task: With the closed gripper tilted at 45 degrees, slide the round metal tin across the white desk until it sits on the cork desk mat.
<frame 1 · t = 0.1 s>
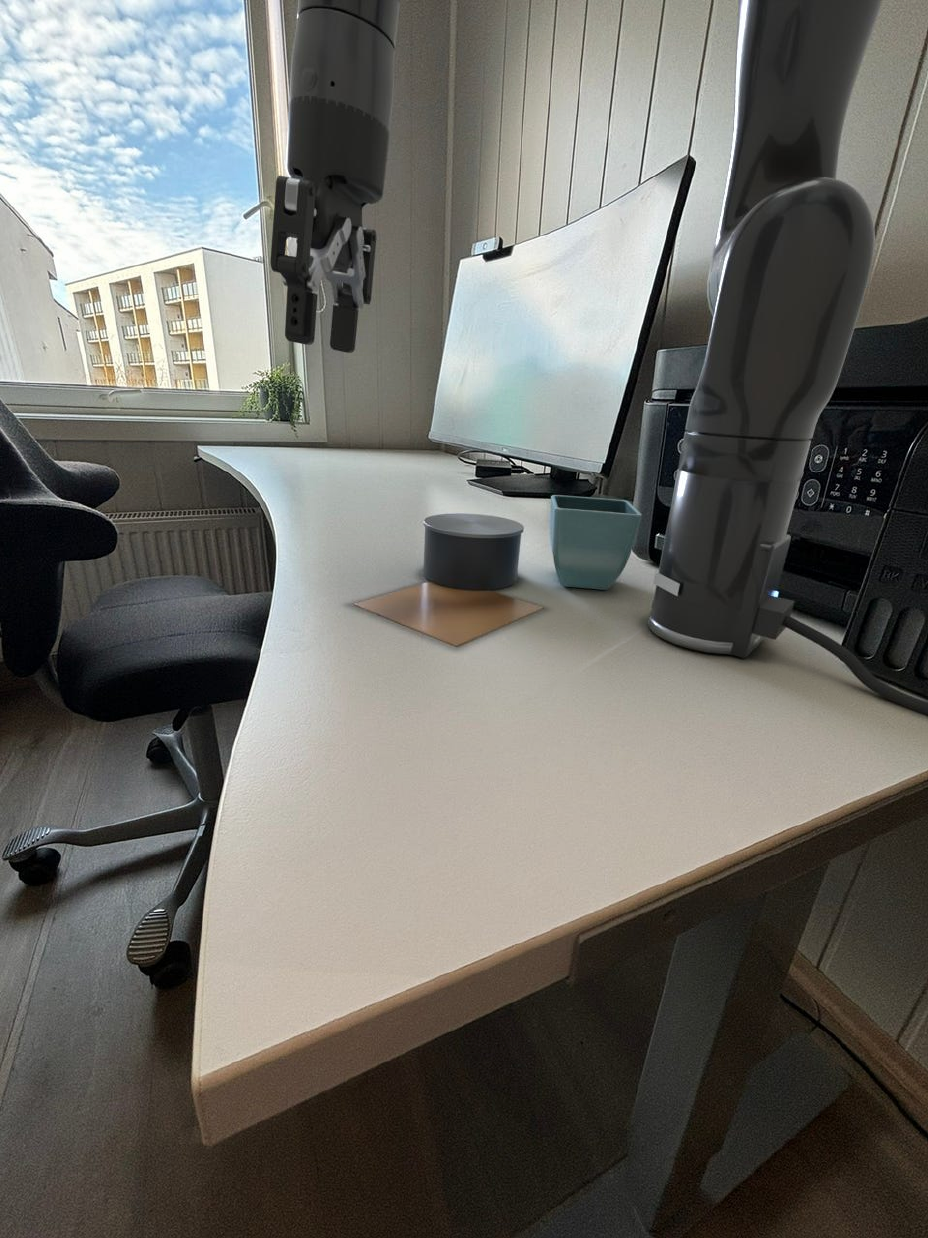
hand: (322, 347, 49), 22 cm above the table, tool pointing down, fingers open, 8 cm apart
flower pot: (582, 584, 64), on the table
round metal tin: (470, 575, 64), on the table, touching desk mat
desk mat: (450, 607, 55), on the table
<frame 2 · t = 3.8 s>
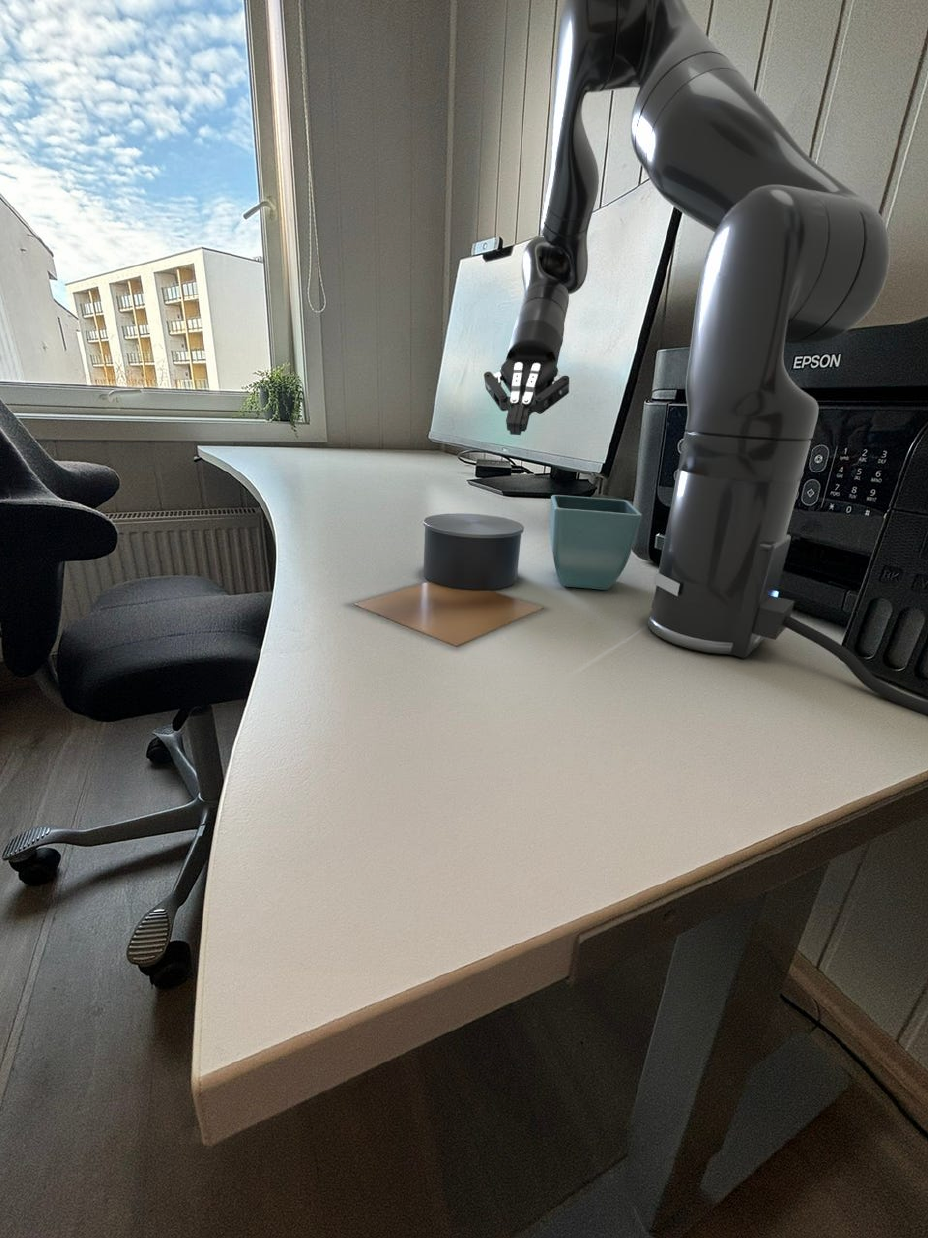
hand: (515, 430, 78), 15 cm above the table, tool tilted 45°, fingers closed
nothing on the table moved.
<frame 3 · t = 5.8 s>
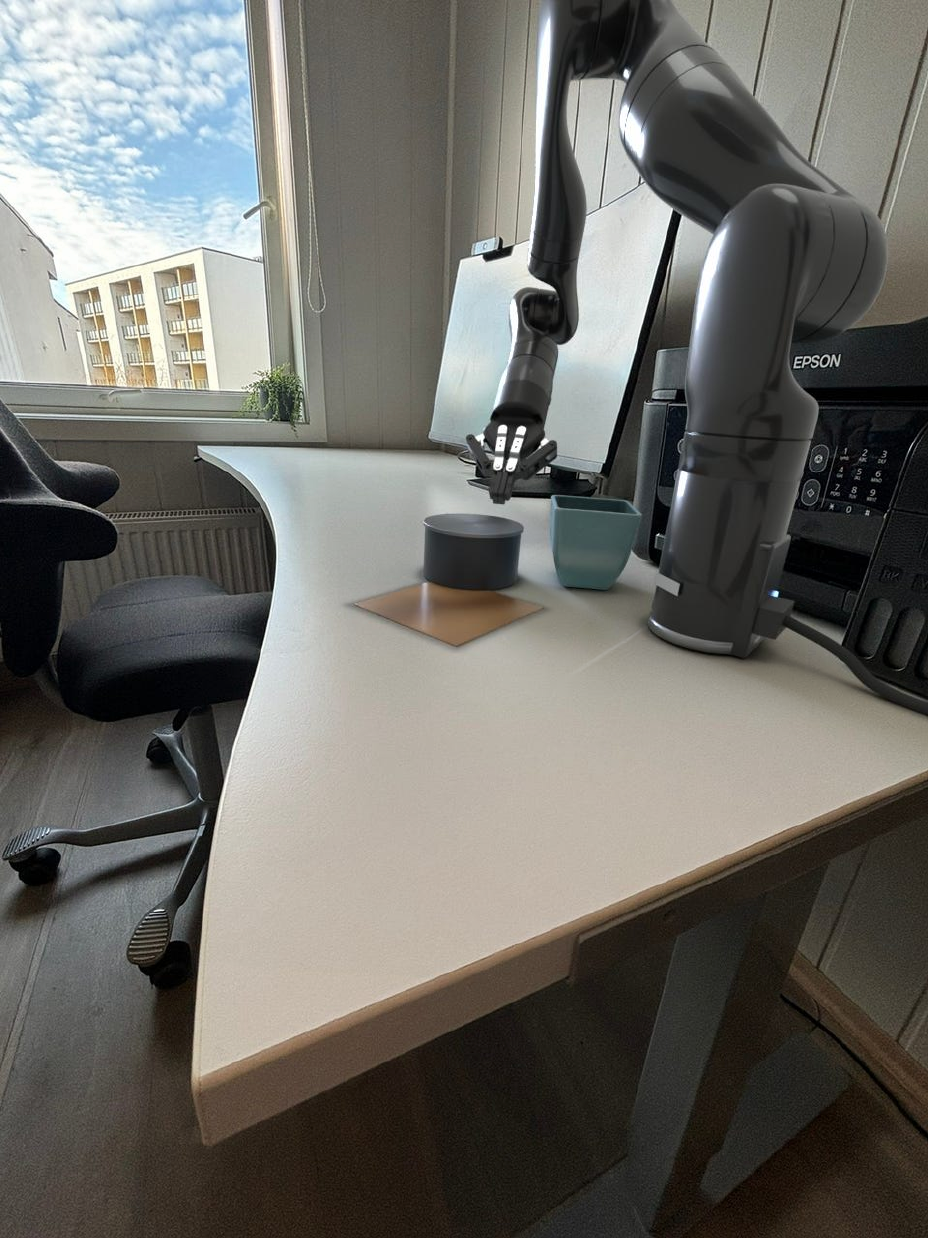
hand: (498, 500, 73), 7 cm above the table, tool tilted 45°, fingers closed
nothing on the table moved.
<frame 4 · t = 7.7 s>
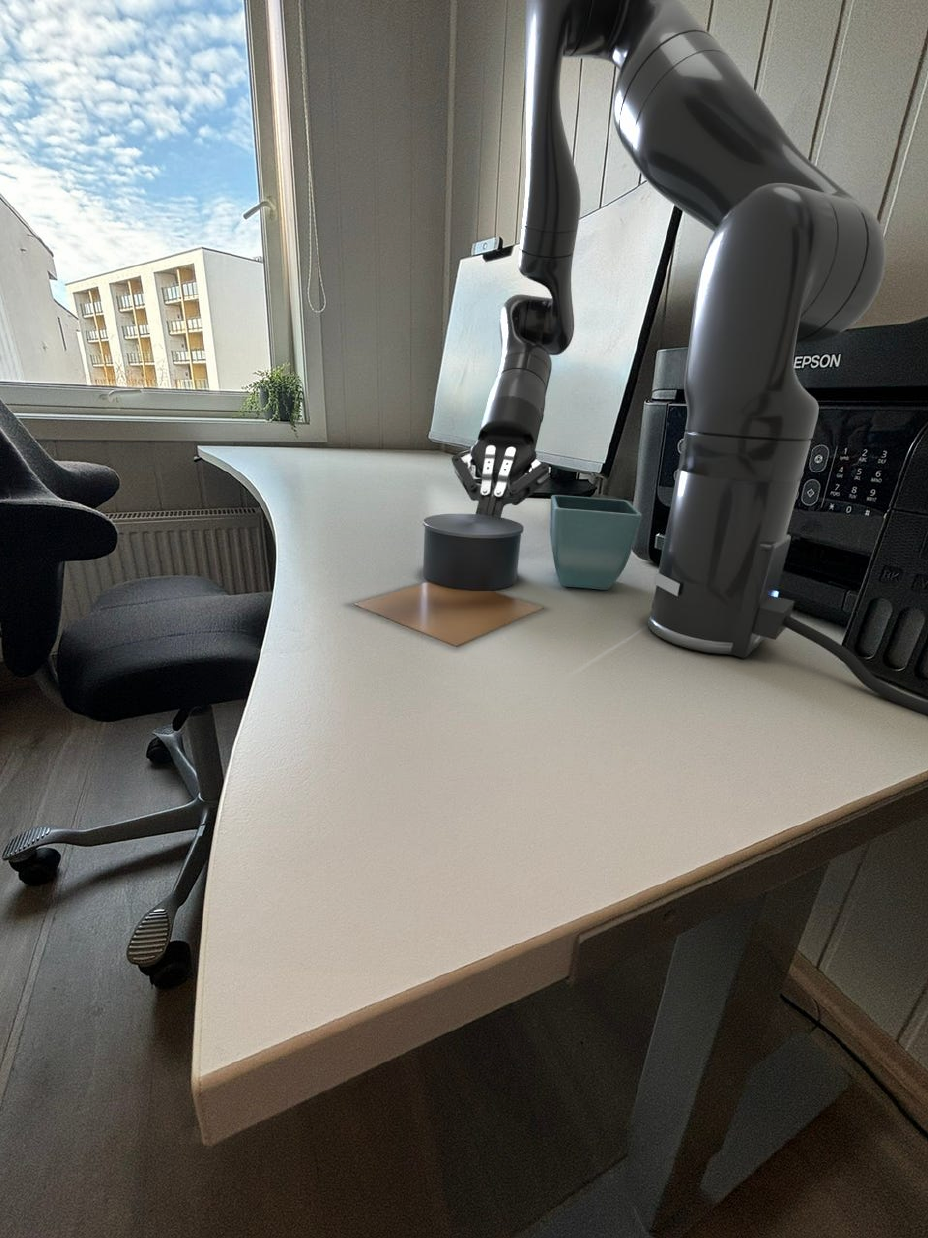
hand: (485, 527, 68), 4 cm above the table, tool tilted 45°, fingers closed
round metal tin: (469, 575, 64), on the table, touching gripper
everything else where it was.
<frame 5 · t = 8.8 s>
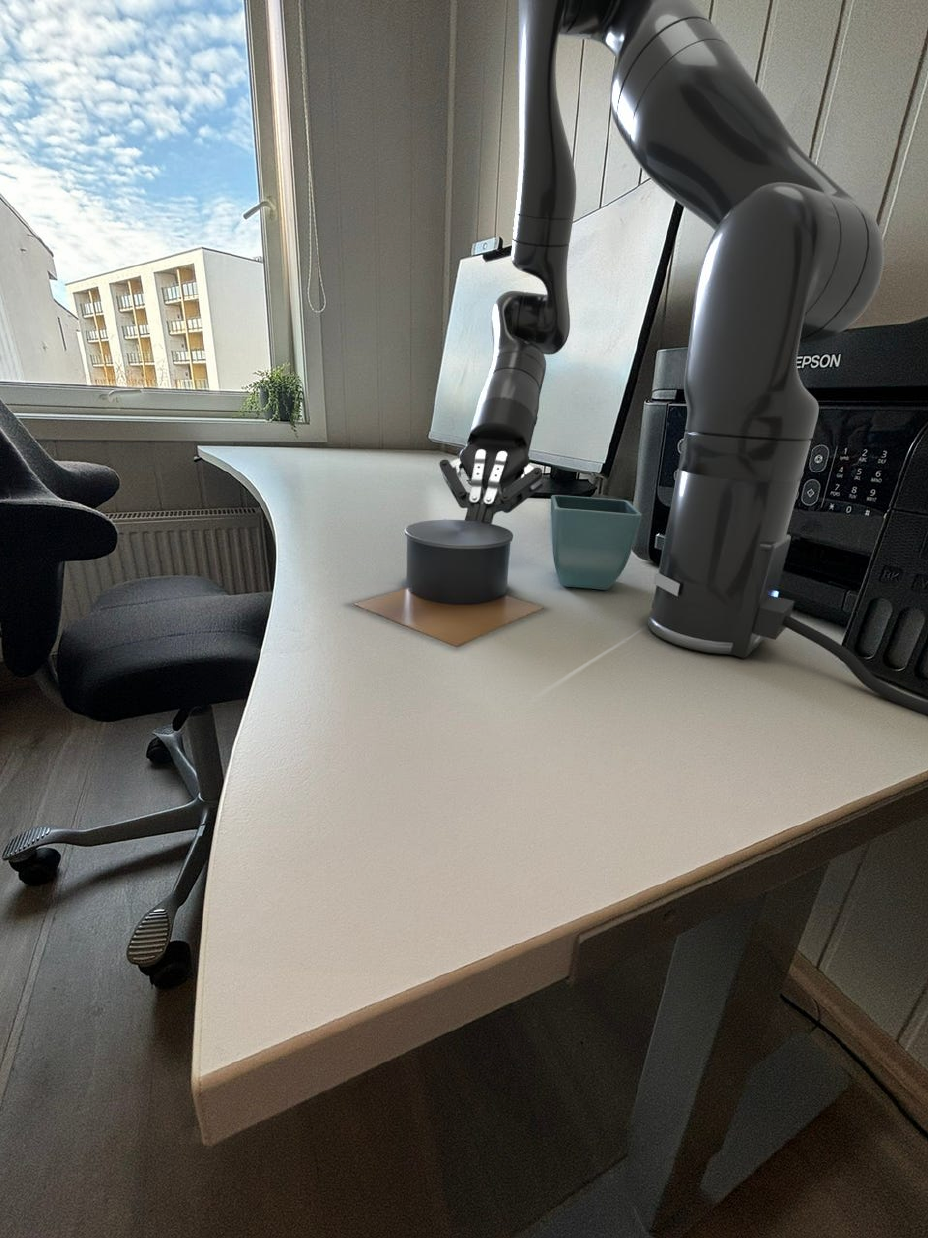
hand: (474, 537, 64), 4 cm above the table, tool tilted 45°, fingers closed
round metal tin: (456, 586, 60), on the table, touching gripper
everything else where it was.
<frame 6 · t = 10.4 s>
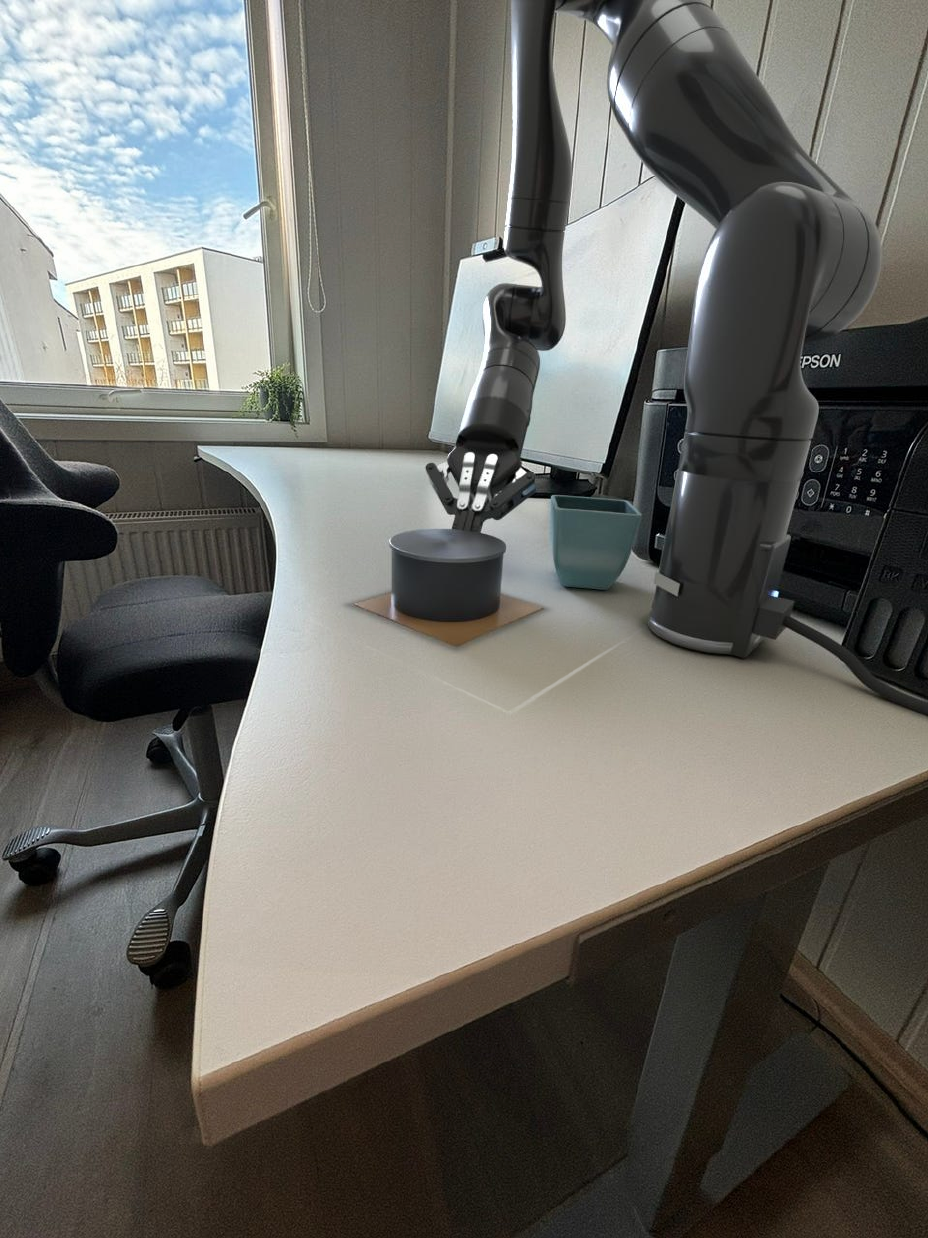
hand: (462, 546, 59), 4 cm above the table, tool tilted 45°, fingers closed
round metal tin: (445, 601, 56), resting on desk mat, touching gripper
everything else where it was.
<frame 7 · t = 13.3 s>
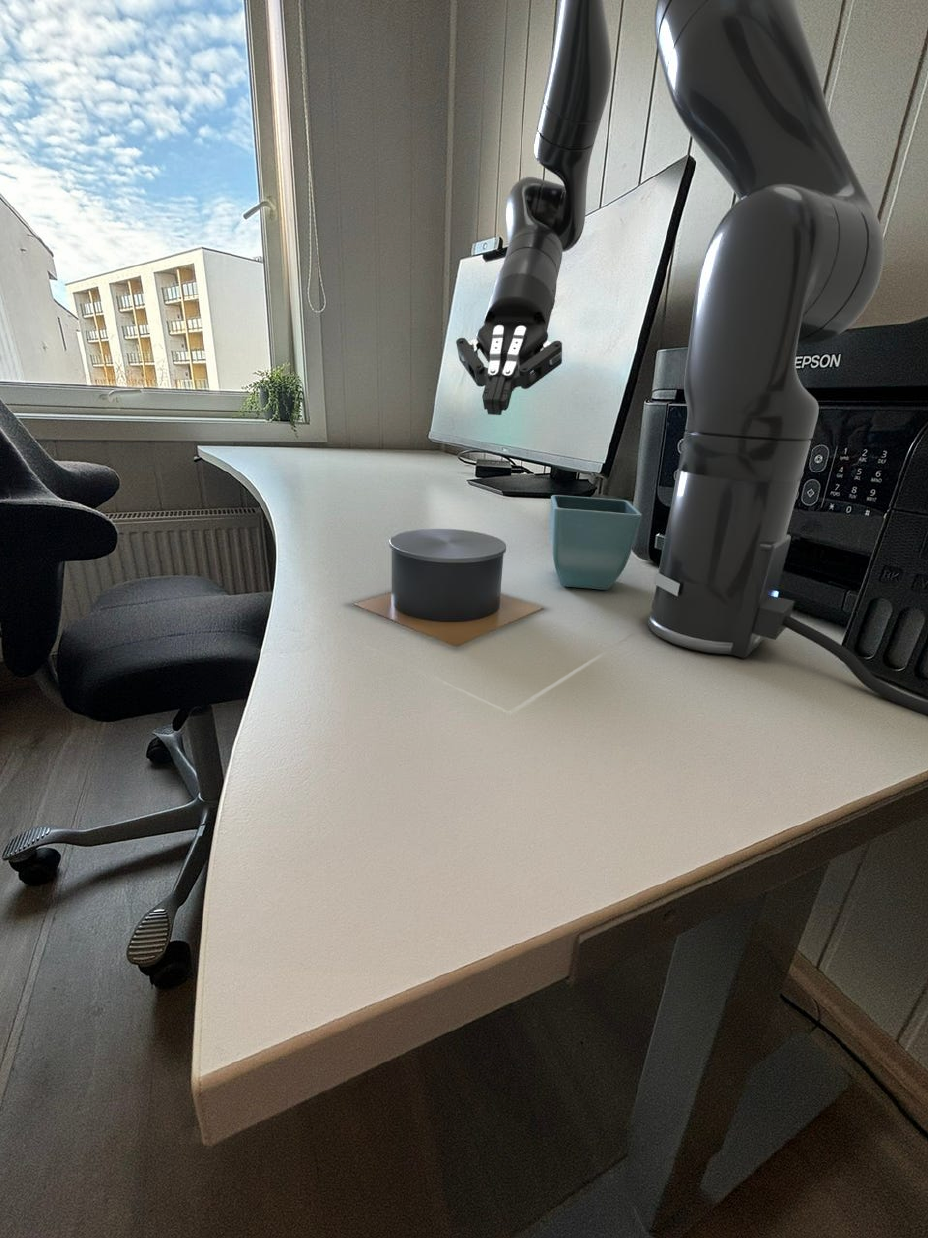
hand: (493, 409, 62), 18 cm above the table, tool tilted 45°, fingers closed
round metal tin: (445, 601, 56), resting on desk mat
everything else where it was.
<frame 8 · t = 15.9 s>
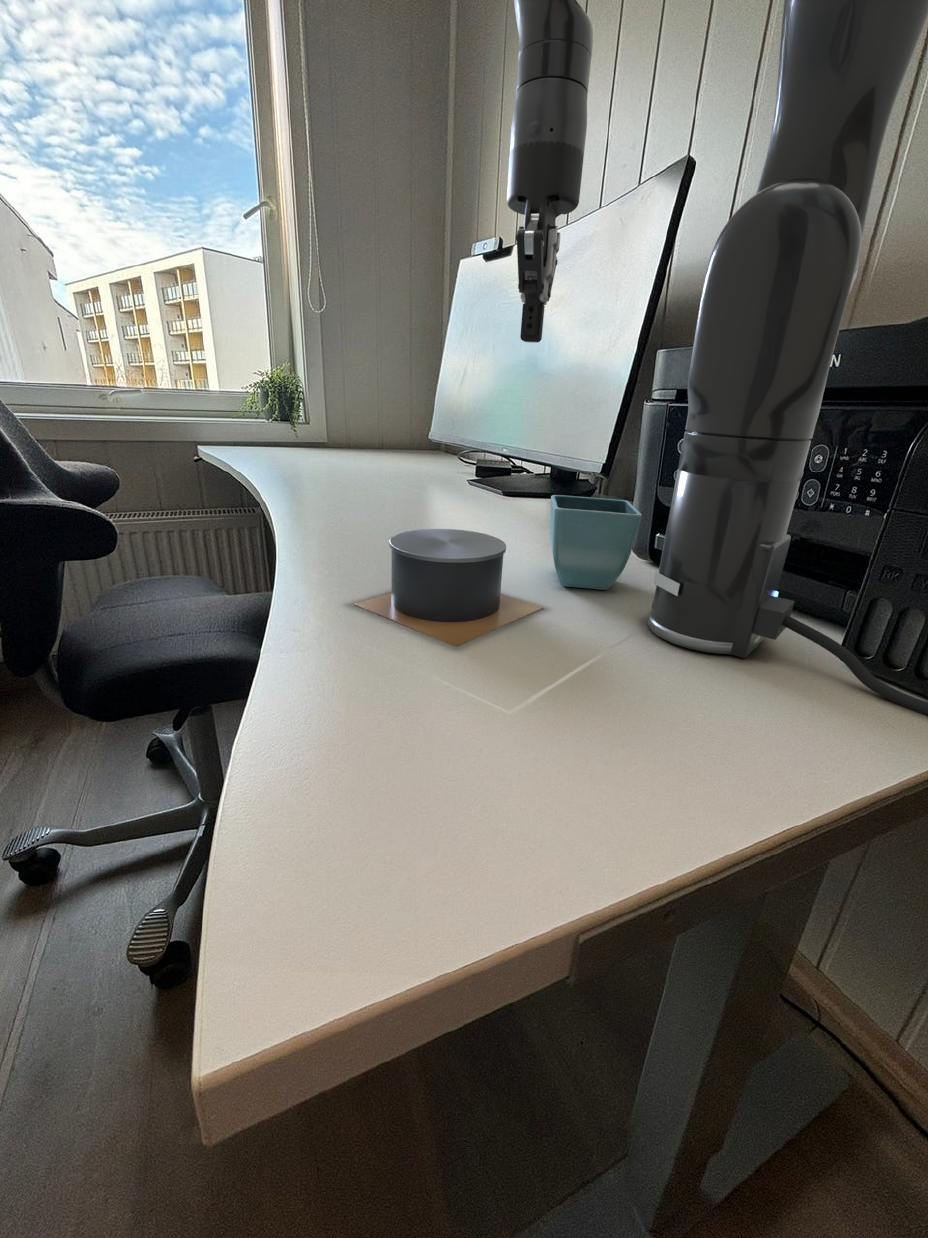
hand: (530, 341, 64), 25 cm above the table, tool pointing down, fingers closed
nothing on the table moved.
at the end: round metal tin inside the target area (1.1 cm from its centre), resting on desk mat; round metal tin tilted 0°; round metal tin moved 9.4 cm from its start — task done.
